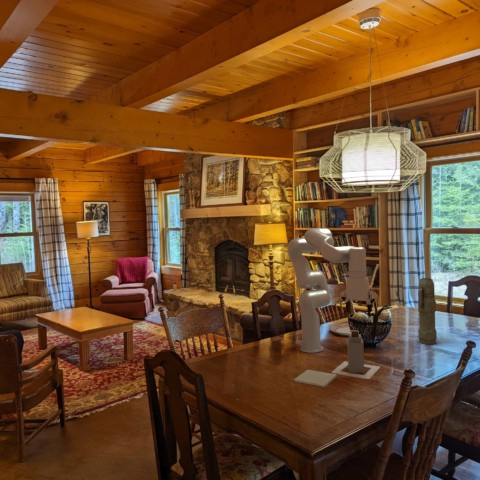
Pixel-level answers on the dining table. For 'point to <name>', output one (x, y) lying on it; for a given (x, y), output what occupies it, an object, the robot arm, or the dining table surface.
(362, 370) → the perfume bottle
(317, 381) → the sage coaster
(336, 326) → the dinner plate
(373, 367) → the frame
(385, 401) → the dining table surface
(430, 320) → the thermos
